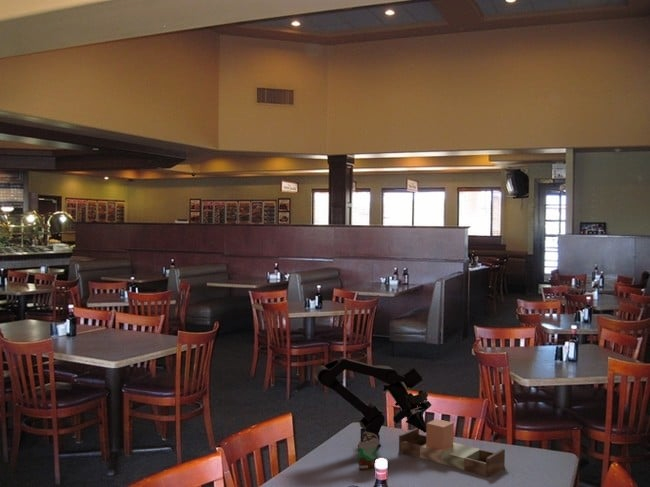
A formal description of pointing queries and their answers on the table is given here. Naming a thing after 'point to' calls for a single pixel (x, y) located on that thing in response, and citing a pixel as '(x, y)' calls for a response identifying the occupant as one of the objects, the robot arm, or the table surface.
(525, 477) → the table surface
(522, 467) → the table surface
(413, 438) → the track
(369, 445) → the food container
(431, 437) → the terracotta block
